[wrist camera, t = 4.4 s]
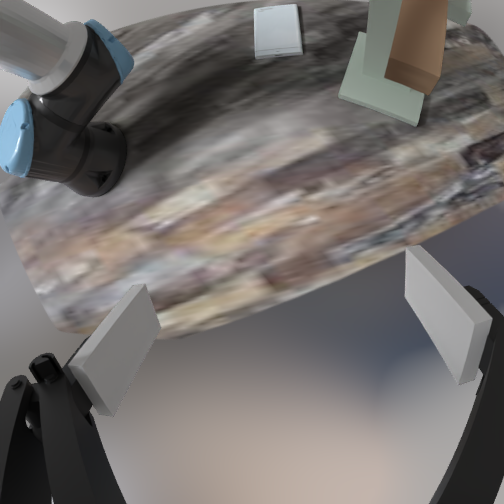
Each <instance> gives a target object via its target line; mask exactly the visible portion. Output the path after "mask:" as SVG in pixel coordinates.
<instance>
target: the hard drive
mask: <svg viewBox="0 0 504 504" xmlns="http://www.w3.org/2000/svg"><path fill="white" fill-rule="evenodd" d="M254 38H255V58H256V59H264V58H272V57H282V56H294V55H303V51H302V41H301V31H300V23H299V15H298V7H297V4H289V5H279V6H271V7H263V8H257V9H254Z"/></svg>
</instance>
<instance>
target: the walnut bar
mask: <svg viewBox="0 0 504 504" xmlns="http://www.w3.org/2000/svg"><path fill="white" fill-rule="evenodd" d="M447 12H448V0H402V3H401V8H400V13H399V17H398V22H397V26H396V31H395V35H394V39H393V43H392V47H391V52H390V56H389V59H388V63H387V67H386V71H385V75H384V78H386V79H388V80H391V81H394V82H396V83H399V84H402V85H404V86H407V87H409V88H412V89H414V90H416V91H419V92H421V93H424V94H426V95H428V96H429V95H430V93H431V92H432V90H433V88H434V87H435V85H436V83H437V82H438V80H439V78H440V74H441V68H442V61H443V53H444V45H445V36H446V25H447Z"/></svg>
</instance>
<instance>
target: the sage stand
mask: <svg viewBox="0 0 504 504" xmlns="http://www.w3.org/2000/svg"><path fill="white" fill-rule="evenodd" d="M401 3H402V0H370V1H369V14H368V25H367V34H366V33H363V32H359V34H358V37H357V40H356V43H355V46H354V49H353V52H352V55H351V58H350V61H349V64H348V67H347V70H346V73H345V76H344V79H343V82H342V85H341V88H340V91H339V94H338V98H340V99H343V100H346V101H349V102H352V103H355V104H358V105H361V106H364V107H367V108H369V109H372V110H375V111H378V112H380V113H383V114H385V115H388V116H390V117H393V118H395V119H398V120H400V121H403V122H405V123H408V124H410V125H412V126H415V127H416V126H417V124H418V121H419V117H420V113H421V109H422V104H423V100H424V95H425V94H424V93H421V92H419V91H416V90H414V89H412V88H409V87H407V86H404V85H402V84H399V83H396V82H394V81H391V80H388V79H386V78H384V75H385V71H386V67H387V63H388V59H389V56H390V52H391V47H392V43H393V39H394V35H395V31H396V26H397V22H398V17H399V13H400V8H401ZM470 15H471V0H448V12H447V19H449V20H451V21H453V22H455V23H458V24H460V25H462V26H464V27H465V25H466V23H467V21H468V19H469V17H470Z"/></svg>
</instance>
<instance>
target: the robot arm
mask: <svg viewBox="0 0 504 504" xmlns="http://www.w3.org/2000/svg"><path fill="white" fill-rule="evenodd" d="M133 66H134V59H133V57H132V56H131V54H130V53H129V52H128V50H127V49H126V48H125V47H124V46H123V45H122V44H121V43H120V42H119V41H118V40H117V39H116V38H114V36H113V35H112V34H111V33H110V32H109V31H108V30H107V29H106V28H105V27H104V26H102V25H101V24H100V23H99V22H97V21H96V20H93V19H91V20H89V21H88V22H86V23H84V24H83V23H81V22H77V21H71V22H68V23H65V24H62V23H60V22H59V21H57V20H55V19H54V18H52V17H51V16H49V15H47V14H45V13H44V12H42V11H40V10H39V9H37V8H35V7H34V6H32V5H30V4H29V3H27V2H25V1H23V0H0V69H1V70H4V71H7V72H10V73H12V74H15V75H18V76H20V77H23V78H26V79H28V86H29V89H30V90H31V92H32V94H31V95H30V97H29V98H28V100H27V99H25V98H22V99H17V100H15V101H14V103H12V104H11V105H10V106H9V108H8V110H7V111H6V113H5V116H4V118H3V120H2V123H1V126H0V166H1V167H2V169H3V170H4V171H5V172H7V173H9V174H13V175H16V176H19V177H21V178H23V177H28V178H34V179H41V180H47V181H53V182H60V183H63V184H64V185H66V186H67V187H69V188H70V189H71V190H73V191H74V192H76V193H77V194H79V195H82V196H88V197H97V196H100V195H103V194H104V193H106V192H107V191H109V190H110V189H111V188H112V187H113V185H114V184H115V183H116V182H117V180H118V178H119V177H120V175H121V172H122V170H123V167H124V164H125V160H126V141H125V138H124V136H123V134H122V132H121V131H120V130H119V129H118V128H117V127H116V126H114V125H111V124H109V123H107V122H90V121H91V120H92V118H93V117H94V116H95V115H96V113H97V112H98V111H99V110H100V108H101V107H102V106H103V105H104V103H105V102H106V101H107V100H108V99H109V97H110V96H111V95H112V94H113V93H114V92H115V90H116V89H117V88H118V87H119V86H120V85H121V84H122V83H123V80H124V79H125V78H126V77H127V75H128V74H129V73H130V72H131V70H132V69H133ZM405 276H406V278H405V298H406V300H407V301H408V303H409V304H410V306H411V307H412V309H413V310H414V312H415V314H416V315H417V317H418V318H419V320H420V321H421V323H422V325H423V326H424V328H425V329H426V331H427V333H428V334H429V336H430V338H431V339H432V341H433V342H434V344H435V346H436V348H437V349H438V351H439V353H440V354H441V356H442V358H443V359H444V361H445V363H446V365H447V367H448V368H449V370H450V372H451V374H452V375H453V377H454V379H455V381H456V383H457V384H458V385H461V384H464V383H467V382H470V381H473V380H475V377H476V374H477V371H478V368H479V369H480V370H481V372H482V373H483V377H482V380H481V382H480V385H479V388H478V390H477V393H476V395H477V396H476V399H475V402H474V405H473V408H472V411H471V413H470V416H469V419H468V422H467V424H466V427H465V430H464V432H463V435H462V437H461V440H460V442H459V445H458V447H457V449H456V451H455V454H454V456H453V458H452V460H451V462H450V464H449V467H448V469H447V471H446V473H445V475H444V477H443V479H442V481H441V483H440V484H439V486H438V488H437V490H436V492H435V494H434V496H433V498H432V499H431V501H430V503H429V504H493V503H494V501H495V499H496V496H497V493H498V491H499V488H500V485H501V483H502V480H503V476H504V316H503V315H502V314H501V313H500V312H499V311H498V310H497V309H496V308H495V307H494V306H493V305H492V304H491V303H490V302H489V301H488V300H487V299H486V298H485V297H484V296H483V294H482V293H480V291H478V290H477V289H474V288H472V287H471V286H465V287H463V286H462V285H461V284H459V282H458V281H457V280H456V279H455V278H454V277H453V276H452V275H451V274H450V273H449V272H447V270H446V269H445V268H443V267H442V266H441V265H440V264H439V263H438V262H437V261H436V260H435V259H434V258H433V257H432V256H431V255H430V254H429V253H427V251H426V250H424V249H423V248H422V247H421V246H420V245H417V246H410V247H406V275H405ZM160 329H161V326H160V323H159V320H158V318H157V315H156V312H155V310H154V307H153V304H152V301H151V299H150V296H149V293H148V290H147V287H146V284H140V285H133V286H132V287H131V288H130V289H129V291H128V292H127V293H126V294H125V295H124V296H123V298H122V299H121V300H120V301H119V302H118V303H117V305H116V306H115V307H114V308H113V309H112V311H111V312H110V313H109V314H108V315H107V317H106V318H105V319H104V320H103V321H102V323H101V324H100V325H99V326H98V328H97V329H96V330H95V331H94V332H93V334H92V335H90V336H89V337H88V338H86V339H85V340H84V341H83V343H82V344H81V345H80V348H78V349H77V350H76V352H75V353H74V354H73V355H72V357H71V358H70V359H69V360H68V362H67V363H66V364H65V366H64V367H63V368H61V366H60V365H59V363H58V361H57V359H56V358H55V356H54V354H52V353H45V354H42V355H40V356H38V357H36V358H35V359H34V360H33V361H32V362H31V363H30V365H29V369H30V371H31V372H32V374H33V376H34V377H35V379H36V380H37V382H38V383H34V384H31V383H30V382H29V380H28V379H27V377H26V376H24V375H19V376H16V377H14V378H12V379H11V380H10V381H9V382H8V384H7V385H6V388H5V390H4V392H3V395H2V398H1V401H0V504H52V502H51V501H52V497H53V502H54V504H126V501H125V500H124V497H123V495H122V493H121V490H120V488H119V486H118V484H117V481H116V479H115V476H114V474H113V472H112V469H111V466H110V464H109V462H108V459H107V456H106V453H105V451H104V448H103V445H102V442H101V439H100V436H99V433H98V430H97V428H96V424H95V421H94V418H93V416H92V414H91V413H90V411H89V410H90V409H91V407H92V405H93V406H94V407H95V409H96V410H97V412H98V413H99V415H106V416H114V415H115V413H116V411H117V409H118V407H119V405H120V403H121V401H122V400H123V397H124V396H125V394H126V392H127V390H128V388H129V386H130V384H131V382H132V381H133V379H134V377H135V375H136V373H137V371H138V369H139V367H140V366H141V364H142V362H143V360H144V358H145V356H146V355H147V353H148V351H149V349H150V347H151V345H152V343H153V342H154V340H155V338H156V336H157V335H158V333H159V331H160ZM26 420H27V421H28V422H29V423H30V427H29V428H28V427H27V425H26Z"/></svg>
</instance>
